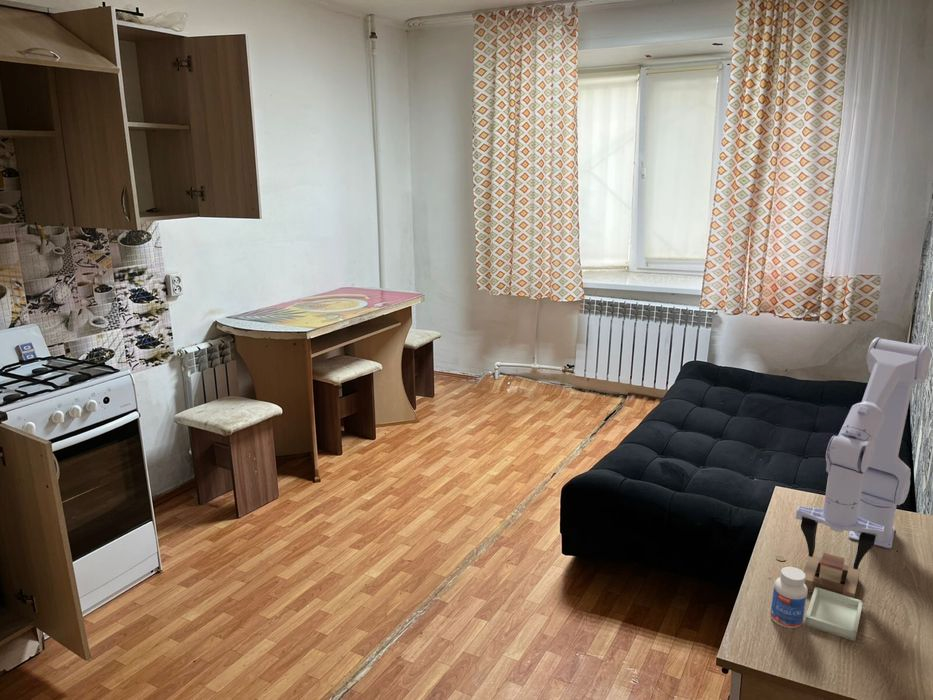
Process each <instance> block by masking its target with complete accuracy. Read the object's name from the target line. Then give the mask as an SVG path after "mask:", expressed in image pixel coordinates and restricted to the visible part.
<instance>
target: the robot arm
mask: <svg viewBox="0 0 933 700" xmlns="http://www.w3.org/2000/svg"><path fill="white" fill-rule="evenodd" d="M931 360H932V350H931V348H930V347H929V346H928V345H925V344H924V345H921V344H914V343H910V342H909V343H908V342H903V341H898V340H891V339H885V338H881V337H875V338H874V339H872V341H871V342H870V344H869V347H868V350H867V352H866V364H867V369H868V372H869V374H870V376H869V380H868V382H867V385H866V388H865V391H864V394H863V397H862V400H861V401H860V402H857V403H855V404H853V405H851V407H850V409H849V412H848V414H847V415H846V418H845V420H844V423H843V424H842V426H841V428H840V431H839V433H838V434H837V435H835V434H834V435H832V436H831V438H830V440H829V442H828V443H827V448H826V451H825V452H826V453H825V461H826V468H825V471H826V473H828V474H827V475H828V476H827V483H826V489H825V497H824V503H823V508H818V507H811V506H810V507H809V506H801V505H798V506H797V508H796V514H795V519H796V520H800V521H801V523H800V529H801V531H802V534H803V536H804V538H805V540H806V545H807V549H808V550H807V551H808V557H809V556H810V557H813V556H814V554H815V549H816V538H817V537H816V535H817V530H818V524H822V525H825V526H827V527H829V529H830V530H831V531H833V532H839V533H842V532H844V531H848V532H849V534H848V538H849V539H850V540H855V541H858V542H857V550H856V555H855V558H854V562H853V566H852V567H853V569H858V568H859V566H860V564H861V561H862V560H863V558H864V557H865V556H866V554H867V553H868V552H869V551H870V550H871V549H872V548H873V546H877V547H883V548H886V549H892V547H893V541H894V534H895V529H896V527H895V526H894V523H895V518H896V511H897V507H898V506H900V505H902V504H904V503H905V501H906V499H907V498H908V495H909V492H910V486H911V476H912V474H911V473H912V472H911V468H910V467H909V466H908V465H907V464H906V463H905V462H904V461H903V460H901V458H900V457H899V453H900V448H901V444H902V438H903V434H904V430H905V425H906V420H907V416H908V409H909V405H910V401H911V400H910V399H911V396H912V392H913V389H914V387H915V386H916V384H924V383H925V382H926V380H927V377H928V374H929V370H930V364H931Z"/></svg>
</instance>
